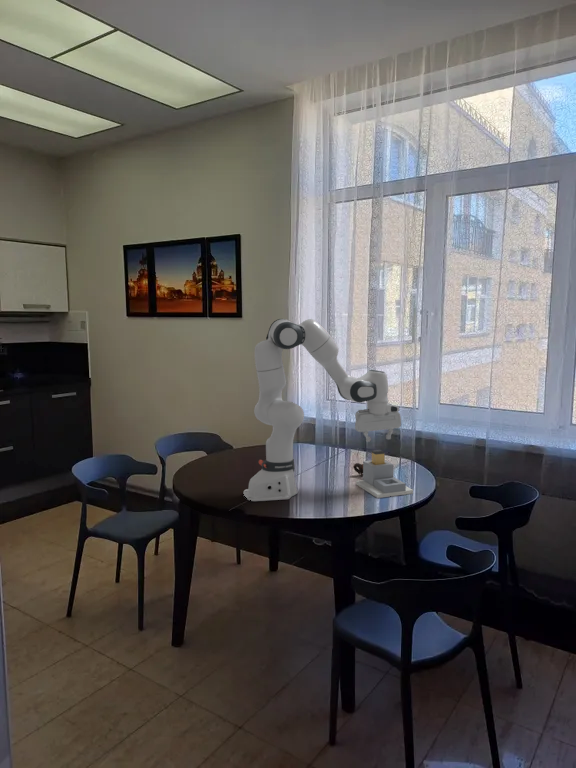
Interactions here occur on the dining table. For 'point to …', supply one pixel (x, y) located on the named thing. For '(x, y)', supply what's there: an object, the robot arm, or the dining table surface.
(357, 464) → the pottery mug
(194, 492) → the dining table surface
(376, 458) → the plug
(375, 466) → the square socket stand
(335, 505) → the dining table surface
